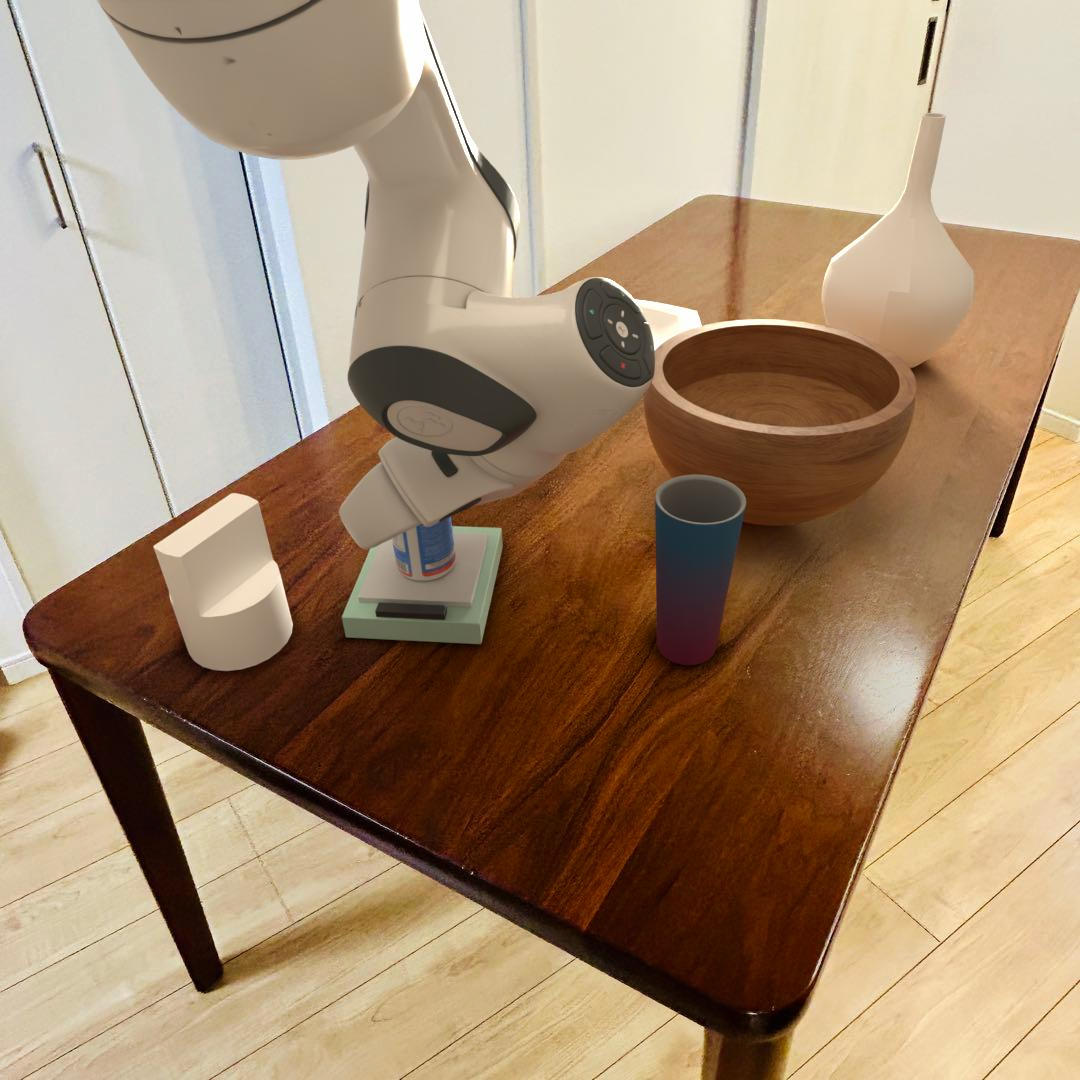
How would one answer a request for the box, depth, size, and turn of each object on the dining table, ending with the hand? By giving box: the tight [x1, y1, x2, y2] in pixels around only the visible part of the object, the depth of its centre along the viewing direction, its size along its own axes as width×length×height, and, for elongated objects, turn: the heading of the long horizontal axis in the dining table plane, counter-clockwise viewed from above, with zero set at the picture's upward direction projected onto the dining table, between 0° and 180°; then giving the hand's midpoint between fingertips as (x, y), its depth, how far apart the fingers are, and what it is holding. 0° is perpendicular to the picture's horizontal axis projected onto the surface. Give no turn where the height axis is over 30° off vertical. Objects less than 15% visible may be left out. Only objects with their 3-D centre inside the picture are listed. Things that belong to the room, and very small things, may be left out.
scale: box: [341, 525, 504, 645], centre depth 83 cm, size 14×12×3 cm
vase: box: [820, 112, 975, 369], centre depth 113 cm, size 18×18×30 cm
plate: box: [633, 298, 703, 350], centre depth 126 cm, size 23×23×2 cm
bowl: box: [643, 318, 917, 526], centre depth 89 cm, size 25×25×15 cm
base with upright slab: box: [153, 492, 294, 672], centre depth 76 cm, size 9×9×12 cm
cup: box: [654, 475, 746, 666], centre depth 72 cm, size 7×7×15 cm
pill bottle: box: [392, 517, 456, 581], centre depth 79 cm, size 6×5×10 cm
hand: (420, 499), depth 77 cm, fingers open, 8 cm apart
